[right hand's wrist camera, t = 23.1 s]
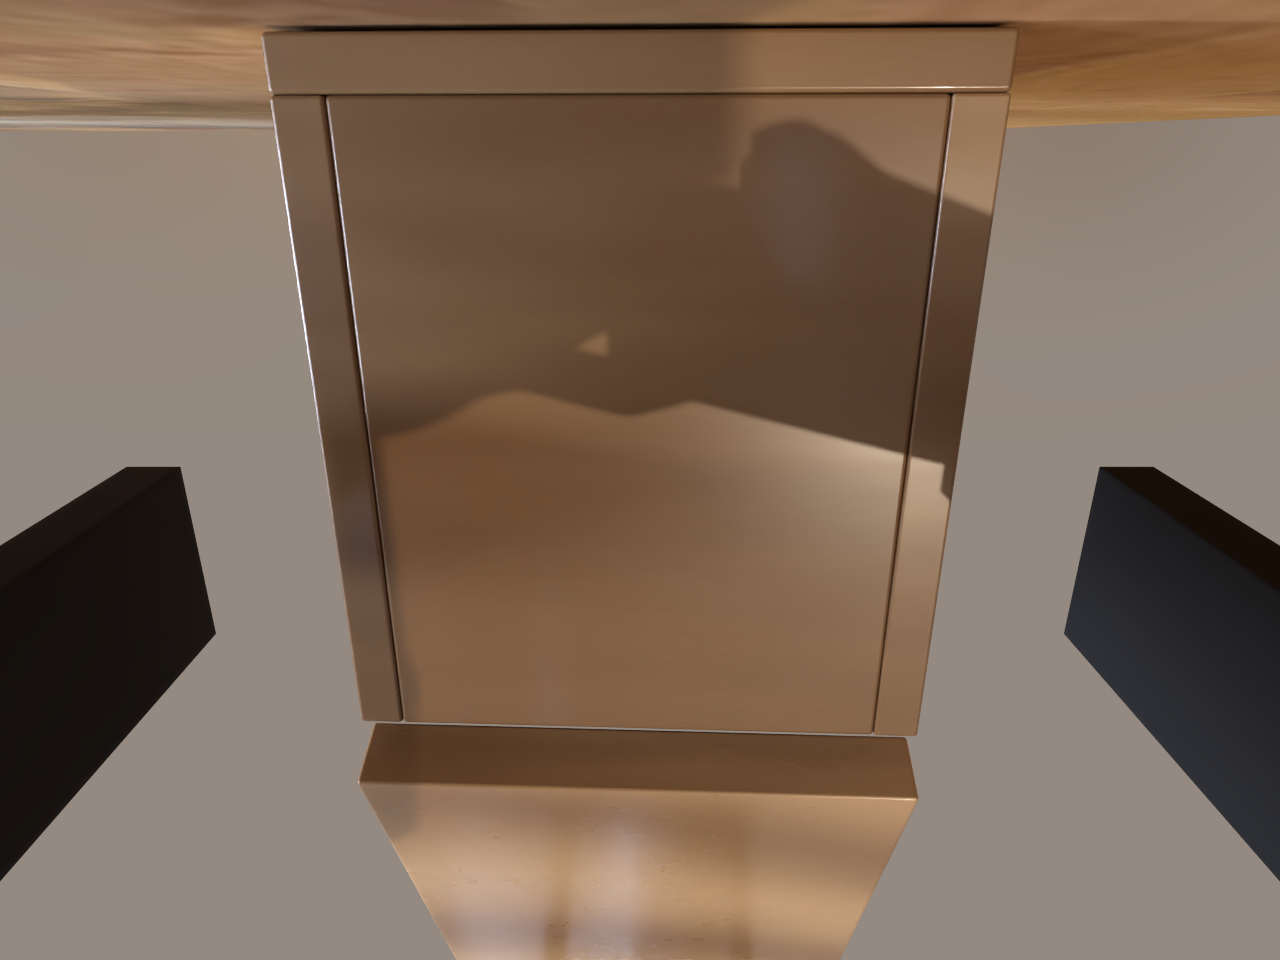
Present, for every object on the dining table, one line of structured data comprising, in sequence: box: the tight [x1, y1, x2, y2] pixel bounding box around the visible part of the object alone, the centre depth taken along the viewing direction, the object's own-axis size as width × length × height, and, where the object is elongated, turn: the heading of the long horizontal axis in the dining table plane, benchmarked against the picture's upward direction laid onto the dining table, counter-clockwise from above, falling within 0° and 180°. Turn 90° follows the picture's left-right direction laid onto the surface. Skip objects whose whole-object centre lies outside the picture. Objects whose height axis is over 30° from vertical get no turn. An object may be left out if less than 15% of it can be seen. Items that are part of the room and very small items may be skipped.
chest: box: [261, 27, 1019, 736], centre depth 20 cm, size 16×10×11 cm, turn 2°
